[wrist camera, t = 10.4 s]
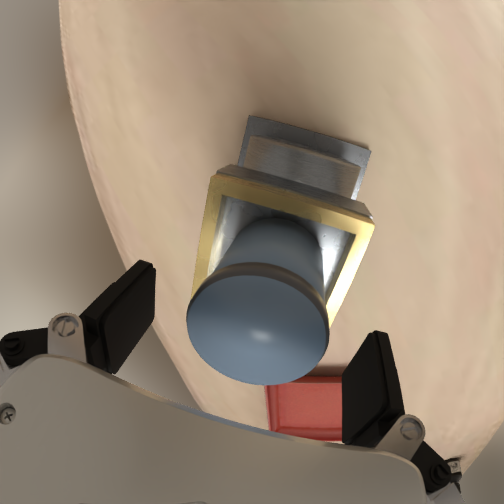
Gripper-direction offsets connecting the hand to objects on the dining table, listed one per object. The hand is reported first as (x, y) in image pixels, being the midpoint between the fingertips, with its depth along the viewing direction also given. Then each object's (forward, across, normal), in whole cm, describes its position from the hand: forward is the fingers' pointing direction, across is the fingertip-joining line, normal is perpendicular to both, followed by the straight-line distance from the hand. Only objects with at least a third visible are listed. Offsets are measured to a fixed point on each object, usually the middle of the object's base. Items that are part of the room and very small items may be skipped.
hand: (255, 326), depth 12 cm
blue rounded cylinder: (+7, 0, +1) cm, 7 cm away
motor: (+20, 0, +1) cm, 20 cm away
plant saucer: (+20, -15, +30) cm, 39 cm away
